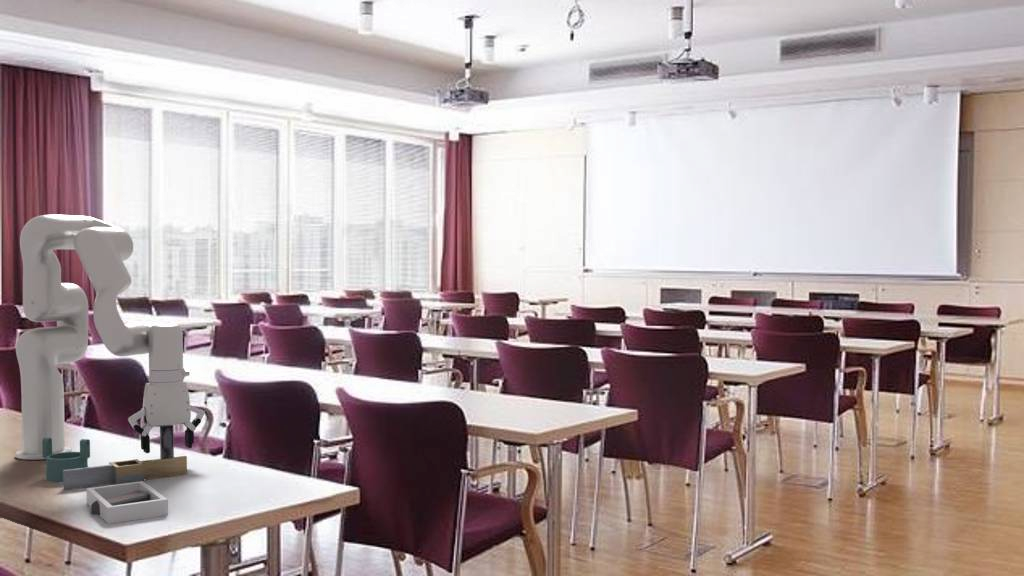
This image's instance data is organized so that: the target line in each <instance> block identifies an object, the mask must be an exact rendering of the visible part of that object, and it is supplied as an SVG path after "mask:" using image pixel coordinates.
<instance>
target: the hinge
mask: <svg viewBox="0 0 1024 576" xmlns="http://www.w3.org/2000/svg"><path fill="white" fill-rule="evenodd" d="M187 459H188V457H187V455H182V456H174V457H171V458H162V459H160V458H155V459H147V460H139V459H137V458H136V459H126V460H120V461H119V460H118V461H110V462H109V463H108V464H105V465H97V466H88V467H86V468H77V469H69V470H63V482H62V489H63V490H73V489H80V488H90V487H98V486H106V485H117V484H125V483H132V482H140V481H143V482H145V483H146V481H145V480H150V479H157V478H158V479H159V478H166V477H172V476H173V477H174V476H181V475H188V462H187V461H188V460H187Z"/></svg>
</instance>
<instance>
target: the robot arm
mask: <svg viewBox="0 0 1024 576" xmlns="http://www.w3.org/2000/svg"><path fill="white" fill-rule="evenodd" d="M19 248H20V249H19V250H20V254H21V261H22V308H23V314H24V316H25V317H26V319H28V320H29V321H31V322H34V323H49V322H56V326H46V327H45V326H44V327H36V328H31V329H28V330H26V331H24V332H23V333H22V334H20V335H19V337H18V338H17V340H16V343H15V354H16V359H17V363H18V366H19V373H20V374H19V375H20V388H21V389H20V392H21V430H22V431H21V433H22V434H21V435H22V436H21V437H22V441H21V442H22V449H19V450H17V451H15V458H17V459H19V460H26V461H27V460H28V461H30V460H32V461H33V460H35V461H37V460H39V461H40V460H46V459H45V458H44V457H43V451H42V440H43V438H51V439H52V454H55V453H62V452H73V451H72V447H70V446H69V445H68V446H67V445H66V443H65V437H66V436H65V435H66V433H65V432H66V431H65V388H64V387H65V386H64V381H63V377H62V375H61V373H60V371H59V370H58V366H57V365H62V364H63V365H64V364H69V363H74V362H78V361H80V360H81V359H82V358H84V356H85V355H86V352H87V350H88V346H89V302H88V297H87V295H86V293H85V291H84V290H83V288H82V287H81V286H79V285H78V284H75V283H71V282H62V266H61V262H60V261H59V258H58V257H57V254H56V253H55V252H54V251H55V250H74V251H75V253H76V254H77V257H78V258H79V260H80V262H81V264H82V267H83V268H84V270H85V273H86V274H87V277H88V279H89V281H90V283H91V284H92V287H93V289H94V291H95V293H96V295H95V299H94V302H93V312H92V313H93V314H92V315H93V317H92V318H93V323H94V327H95V330H96V331H97V334H98V336H99V337H100V339H101V341H102V343H103V345H104V347H105V348H106V350H108V351H109V352H110V353H111V354H112V355H114V356H115V357H129V356H135V355H146V354H148V377H149V380H148V381H149V382H146V383H145V385H144V390H143V399H142V401H143V402H142V409H140V410H138V411H137V412H135V413H134V414H132V415H130V416H129V417H128V418H127V421H128V422H129V424H130V426H131V427H132V429H133V430H134V431H135V432H137V433H138V434H139V435H140V448H141V450H142V451H143V452H144V453H145V454H149V453H151V446H150V445H151V437H150V435H149V433H150V432H151V430H152V429H153V428H158V427H159V428H160V427H161V426H170V425H174V426H177V425H179V426H180V425H183V426H184V427H185V428H186V429H185V430H184V447H186V448H188V449H192V448H193V445H194V444H195V431H196V428H197V427H198V426H199V425H200V424H201V422H202V420H203V418H204V417H205V413H206V411H205V410H203V409H201V408H198V407H196V406H194V405H191V402H190V401H191V400H190V394H189V389H188V384H187V381H186V380H185V378H186V377H188V376H190V370H189V369H188V370H187V369H185V368H184V351H183V349H184V347H183V346H184V345H183V343H184V342H183V328H182V326H181V325H180V324H177V323H158V322H152V321H141V322H139V321H137V322H127V323H124V321H123V319H122V317H121V315H120V313H119V310H118V307H117V298H118V296H119V295H120V294H122V293H123V292H125V291H126V290H128V288H130V287H131V284H132V277H131V275H130V273H129V271H128V269H127V267H126V264H125V263H124V261H126V260H128V259H129V258H130V257H131V256H132V254H133V252H134V242H133V239H132V237H131V235H130V234H129V233H128V232H127V231H126V230H125V229H123V228H121V227H119V226H116V225H115V224H113V223H112V224H111V223H109V222H107V221H103V220H101V219H98V218H95V217H92V216H87V215H77V214H76V215H74V214H71V215H70V214H42V215H36V216H34V217H32V218H31V219H29V220H28V221H27V222H26V223H25V225H24V226H23V227H22V229H21V231H20V235H19ZM191 413H195V414H196V416H195V418H194V419H193V420H192V421H191V417H192V416H191ZM141 418H142V422H143V425H142V426H141V425H139V424H138V423H139V422H138V420H139V419H141Z"/></svg>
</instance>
